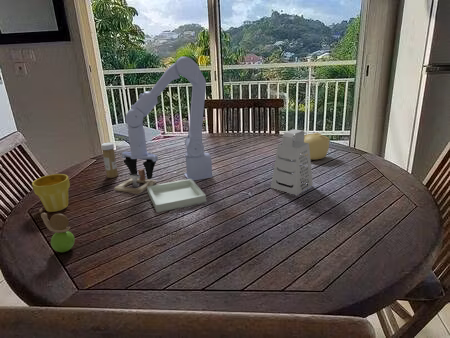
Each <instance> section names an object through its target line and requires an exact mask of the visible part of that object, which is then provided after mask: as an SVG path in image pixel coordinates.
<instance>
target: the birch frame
mask: <svg viewBox="0 0 450 338" xmlns="http://www.w3.org/2000/svg"><path fill="white" fill-rule="evenodd" d="M137 173H138V175H140V177H141V178H139V179H137V182H138V183H139V184H143V185H141V186H139V187H137V188H136V187H128V186H130V185H131V184H133V180H132V178H129V179H127V180H125V181H124V182H121V183H119V184H118V185H116V186H114V191H118V192H125V193H132V194H137V195H139V194H141V193H143V192H144V191H146V190H147V186H152V185H156V183H157V181H156V180H155V179H147V177H146V170H145V168H139V169H137Z"/></svg>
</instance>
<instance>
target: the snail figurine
mask: <svg viewBox="0 0 450 338" xmlns="http://www.w3.org/2000/svg"><path fill="white" fill-rule="evenodd" d="M38 212H39V213H40V217H41V219H42V221H43V223H44V225H45V227H46V228H47V229H48V230H49V231H51V232H53V233H54V234H53V235H52V236H51V238H50V245H51V248H52V249H53V250H54V251H56V252H57V253H65V252H69V251H70V250H71V249H72V248H73V247H74V244H75V235H74V233H72V232H71V231H69V230H70V229H71V226H69V223H70V221H69V218H68V217H67V216H66V215H65V214H63V213H54V214H53V215H51V217H50V219H49V218H48V213H46V212H43V208H39V210H38Z"/></svg>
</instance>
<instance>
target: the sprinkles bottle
mask: <svg viewBox="0 0 450 338" xmlns="http://www.w3.org/2000/svg"><path fill="white" fill-rule="evenodd" d="M114 145H115V144H114V143H113V142H109V141H108V142H104V143H101V145H100V146H101V151H102V156H103V163H104V168H105V173H106V177H107V178H109V179H113V178H116V177H118V176H119V173H118V172H119V171H118V166H117V161H116V154H115V149H114V148H115V146H114Z"/></svg>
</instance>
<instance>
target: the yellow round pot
mask: <svg viewBox="0 0 450 338" xmlns="http://www.w3.org/2000/svg"><path fill="white" fill-rule="evenodd" d="M304 143H309V150H310V160H312V161H313V160H320V159H323V158H325V157H326V155H327V154H328V152H329V148H330V137H328V136H325V135H323V134H321V133H319V132H315V133H308V134H304ZM302 154H303V153H302ZM305 156H306V154H305ZM307 156H308V153H307Z"/></svg>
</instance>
